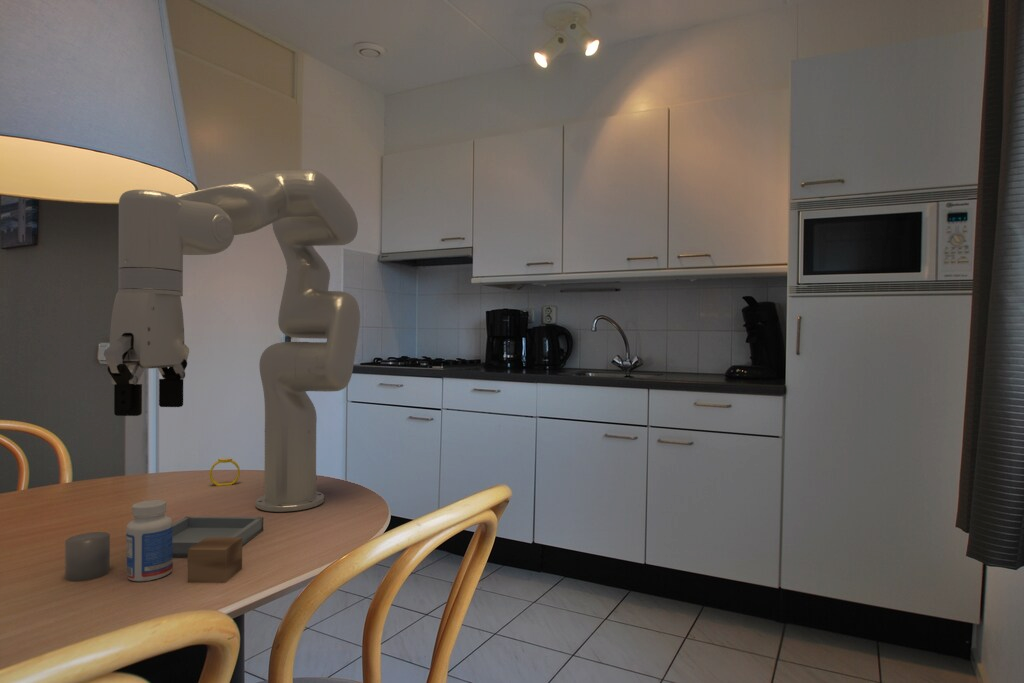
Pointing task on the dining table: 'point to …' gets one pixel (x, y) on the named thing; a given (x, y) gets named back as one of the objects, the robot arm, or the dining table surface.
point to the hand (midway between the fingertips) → (150, 410)
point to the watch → (224, 460)
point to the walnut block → (214, 560)
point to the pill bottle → (149, 542)
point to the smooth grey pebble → (87, 556)
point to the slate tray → (212, 531)
